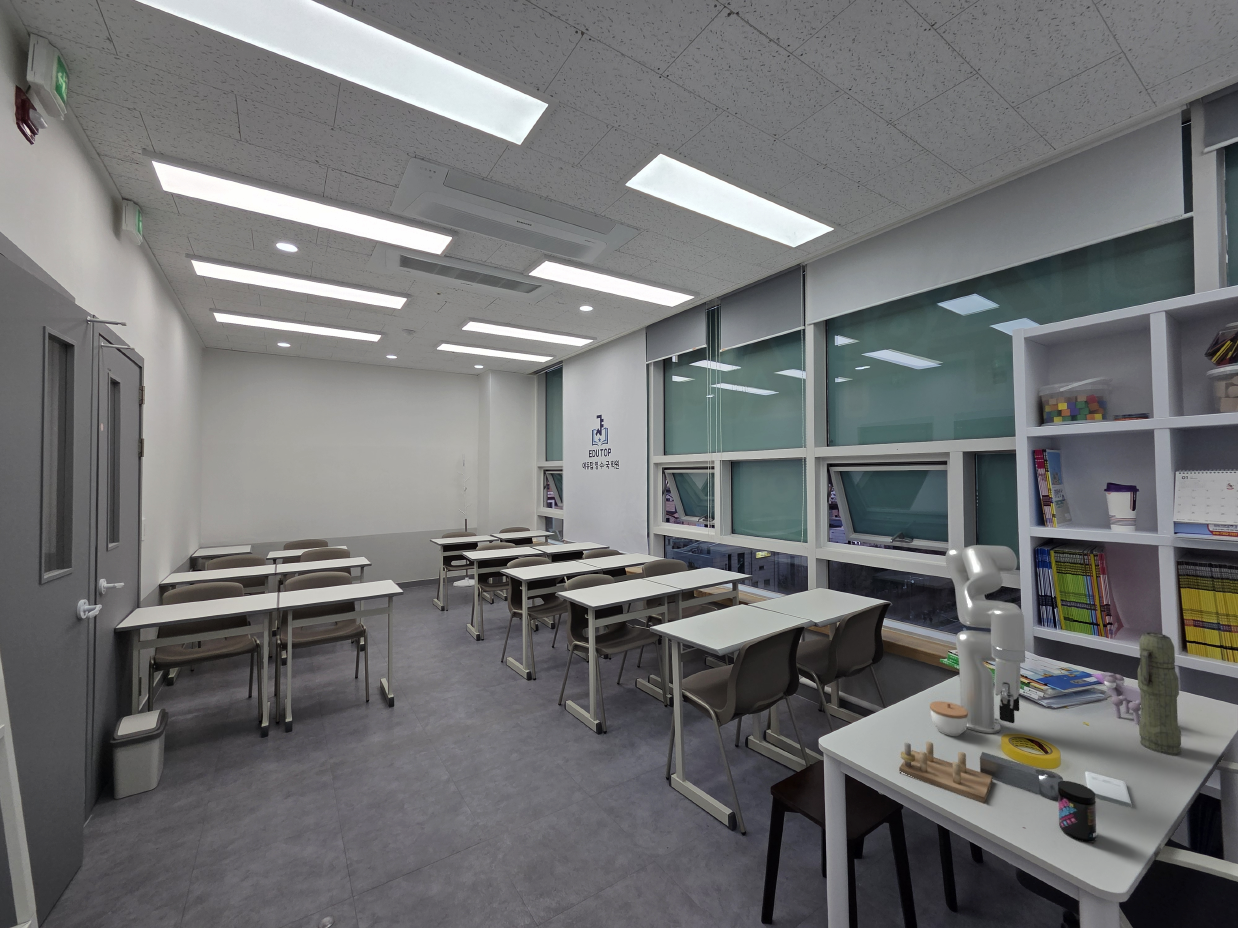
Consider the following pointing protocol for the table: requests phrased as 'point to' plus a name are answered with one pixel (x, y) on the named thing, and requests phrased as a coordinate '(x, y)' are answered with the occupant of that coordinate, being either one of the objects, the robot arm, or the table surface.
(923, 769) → the rack
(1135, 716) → the purple toy animal
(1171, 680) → the moai statue
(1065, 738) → the table surface
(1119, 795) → the external hard drive
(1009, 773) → the grey long block
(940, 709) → the lidded jar
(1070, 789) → the supplement container
